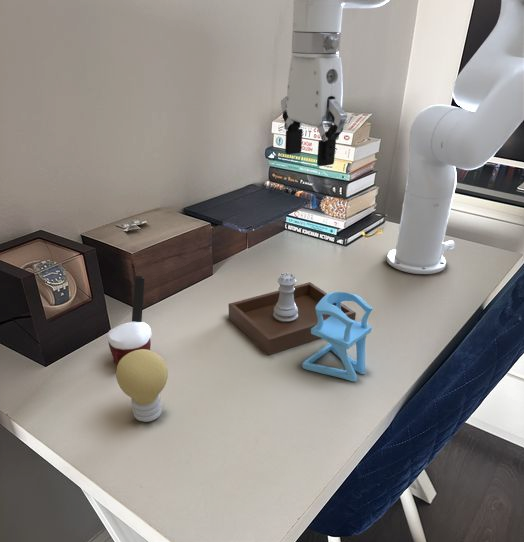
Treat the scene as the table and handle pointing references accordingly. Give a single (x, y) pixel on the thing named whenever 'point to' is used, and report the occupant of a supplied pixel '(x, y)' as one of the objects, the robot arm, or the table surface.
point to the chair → (340, 335)
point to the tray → (272, 333)
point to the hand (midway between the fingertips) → (308, 158)
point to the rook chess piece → (286, 299)
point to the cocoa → (131, 328)
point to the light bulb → (143, 382)
